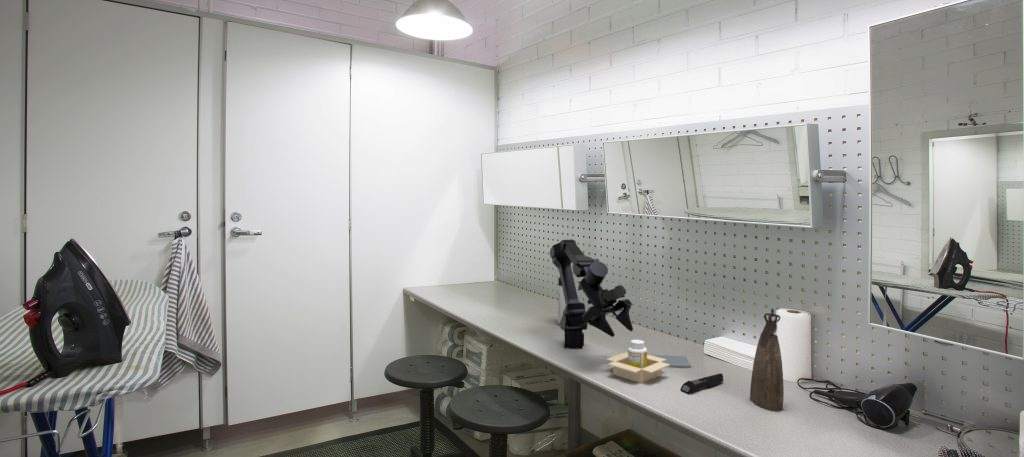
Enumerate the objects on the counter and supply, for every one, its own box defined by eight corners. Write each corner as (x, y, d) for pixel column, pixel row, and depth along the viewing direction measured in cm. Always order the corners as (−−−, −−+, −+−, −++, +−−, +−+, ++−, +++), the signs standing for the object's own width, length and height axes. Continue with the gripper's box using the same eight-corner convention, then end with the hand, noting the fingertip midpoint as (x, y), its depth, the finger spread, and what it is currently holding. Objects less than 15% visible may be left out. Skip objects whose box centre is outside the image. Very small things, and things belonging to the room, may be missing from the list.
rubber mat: (658, 366, 166) (658, 364, 166) (654, 356, 175) (654, 355, 175) (691, 368, 164) (691, 366, 164) (685, 357, 174) (685, 356, 174)
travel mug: (575, 323, 221) (575, 275, 219) (571, 327, 214) (571, 278, 213) (560, 322, 223) (560, 275, 221) (556, 326, 216) (556, 277, 215)
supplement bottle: (642, 370, 162) (642, 338, 161) (650, 377, 156) (650, 343, 156) (625, 372, 161) (625, 339, 160) (632, 378, 155) (632, 344, 155)
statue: (788, 403, 137) (788, 308, 134) (780, 413, 131) (780, 315, 128) (753, 395, 142) (752, 304, 140) (744, 405, 136) (743, 311, 134)
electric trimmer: (727, 385, 151) (727, 374, 150) (690, 396, 143) (690, 384, 142) (715, 381, 154) (716, 371, 154) (679, 391, 146) (679, 380, 146)
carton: (599, 374, 159) (599, 361, 159) (631, 362, 170) (631, 350, 170) (644, 388, 147) (644, 374, 147) (675, 375, 158) (675, 361, 158)
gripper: (589, 280, 158) (619, 323, 151) (627, 274, 171) (656, 313, 163) (570, 302, 165) (597, 344, 157) (608, 294, 177) (635, 333, 170)
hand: (623, 333), depth 162 cm, fingers open, 9 cm apart
